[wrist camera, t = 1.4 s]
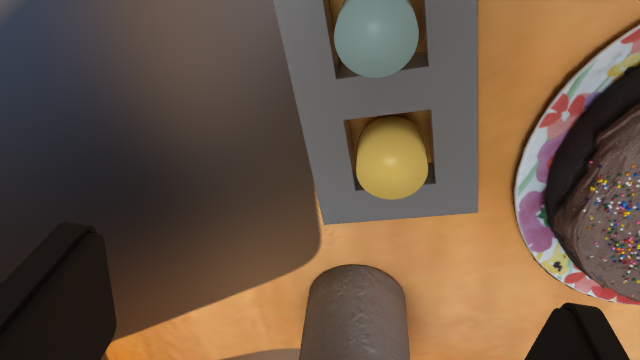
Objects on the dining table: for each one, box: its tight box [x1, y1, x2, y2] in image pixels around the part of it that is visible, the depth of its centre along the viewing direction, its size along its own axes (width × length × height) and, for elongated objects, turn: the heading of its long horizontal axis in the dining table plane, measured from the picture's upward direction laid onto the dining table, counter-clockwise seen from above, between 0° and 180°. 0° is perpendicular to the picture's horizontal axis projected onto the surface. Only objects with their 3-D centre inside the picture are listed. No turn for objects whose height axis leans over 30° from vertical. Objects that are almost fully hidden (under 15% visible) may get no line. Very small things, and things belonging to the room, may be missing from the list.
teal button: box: [334, 0, 419, 78], centre depth 27 cm, size 5×5×3 cm
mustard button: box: [356, 116, 428, 200], centre depth 32 cm, size 5×5×3 cm
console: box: [273, 0, 478, 225], centre depth 29 cm, size 12×30×3 cm, turn 11°
